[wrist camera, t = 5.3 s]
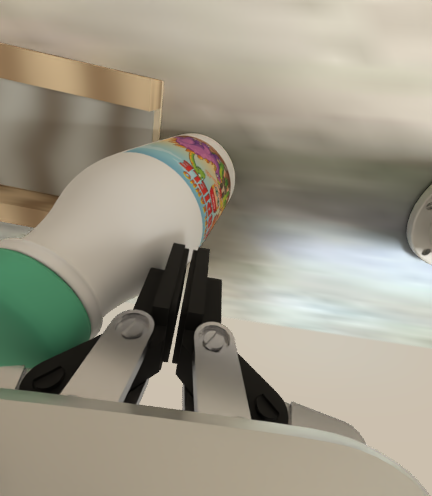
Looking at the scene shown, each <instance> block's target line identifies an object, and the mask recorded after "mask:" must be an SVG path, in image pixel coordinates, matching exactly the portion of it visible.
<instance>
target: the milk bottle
mask: <svg viewBox="0 0 432 496" xmlns="http://www.w3.org/2000/svg"><path fill="white" fill-rule="evenodd" d="M234 186H235V171H234V167H233V164H232V161H231V159H230V157H229V155H228V154H227V152H226V151H225V150H224V148H223V147H222V146H221V145H220V144H219V143H217V142H216V141H215V140H213V139H211V138H210V137H207V136H205V135H201V134H196V133H188V134H182V135H178V136H174V137H170V138H167V139H163V140H159V141H156V142H152V143H149V144H145V145H142V146H139V147H135V148H132V149H129V150H125V151H122V152H119V153H117V154H114V155H111V156H109V157H106V158H104V159H101V160H99V161H98V162H96V163H94V164H92V165H90V166H89V167H87V168H86V169H84V170H83V171H82V172H81V173H79V174H78V175H77V176H76V177H75V178H74V179H73V180H72V181H71V182H70V183H69V184H68V185H67V186H66V188H65V189H64V190H63V192H62V193H61V195H60V196H59V198H58V199H57V201H56V203H55V204H54V206H53V207H52V209H51V210H50V212H49V213H48V214H47V216H46V217H45V218H44V219H43V220H42V221H41V222H40V223H39V224H38V225H37V226H36V227H35V228H34V229H33V230H32V231H31V232H30V233H29V234H27V235H26V236H25V237H23V238H21V239H20V238H7V239H2V240H0V367H3V366H17V365H25V366H26V368H33V367H34V366H36V365H38V364H39V363H41V362H43V361H45V360H47V359H49V358H52V357H54V356H56V355H58V354H60V353H62V352H64V351H67V350H69V349H71V348H73V347H75V346H77V345H79V344H82V343H84V342H86V341H88V340H90V339H92V338H94V337H95V336H96V335H97V334H98V332H99V331H100V328H101V326H102V321H103V317H104V316H105V315H106V314H107V313H108V312H110V311H111V310H113V309H114V308H116V307H117V306H119V305H120V304H122V303H124V302H125V301H127V300H129V299H132V298H134V297H136V296H138V295H139V294H140V292H141V290H142V287H143V285H144V282H145V280H146V277H147V275H148V273H149V270H150V268H157V269H163V270H165V267H166V264H167V261H168V258H169V255H170V252H171V249H172V246H173V243H178V244H183V245H185V248H188V249H189V255H188V261H187V264H188V263H189V262H190V261H191V258H192V253H193V249H194V250H198V247H201V245H202V244H203V242H204V241H205V239H206V237H207V236H208V234H209V233H210V231H211V230H212V228H213V226H214V225H215V223H216V222H217V220H218V218H219V217H220V215H221V214H222V212H223V210H224V209H225V207H226V205H227V204H228V202H229V200H230V198H231V196H232V193H233V191H234Z"/></svg>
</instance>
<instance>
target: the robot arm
mask: <svg viewBox="0 0 432 496" xmlns="http://www.w3.org/2000/svg"><path fill="white" fill-rule="evenodd" d="M407 239H408V244H409V245H410V247H411V249H412V251H413V252H414V253H415V254H416V255H417V256H418V257H419V258H421V259H422V260H423V261H425V262H426V263H428V264H430V265H432V184H431V185H430V186H429V188H428V189H427V190H426V191H425V192H424V193H423V194H422V196H421V197H420V198H419V200H418V201H417V203H416V204H415V206H414V208H413V210H412V212H411V214H410V217H409V220H408V224H407ZM209 253H210V249H205V248H200V247H198V250H194V249H193V253H192V258H191V263H190V268H189V273H188V278H187V283H186V288H185V293H184V299H183V304H182V309H181V314H180V320H179V326H178V331H177V337H176V343H175V349H174V355H173V360H172V363H176V364H177V369H176V375H177V376H178V377H179V379H180V380H181V381H182V383H183V387H182V398H183V399H182V400H183V401H182V402H183V403H182V406H183V408H182V410H176V409H167V408H160V407H153V406H145V405H139V403H140V401H141V399H142V396H143V394H144V391H145V389H146V387H147V384H148V381H149V378H150V377H152V376H153V375H154V374H156V373H158V372H159V370H161V366H162V362H168V358H169V354H170V349H171V344H172V339H173V335H174V330H175V325H176V320H177V315H178V311H179V306H180V301H181V296H182V290H183V284H184V278H185V273H186V267H187V261H188V255H189V249H188V248H185V245H183V244H178V243H173V246H172V249H171V252H170V255H169V258H168V261H167V264H166V267H165V270H163V269H157V268H150V270H149V273H148V275H147V277H146V280H145V282H144V285H143V287H142V290H141V292H140V294H139V297H138V299H137V302H136V304H135V306H134V309H133V310H127V311H124V312H122V313H120V314H118V315H117V316H116V317H115V318H114V319H113V320H112V321H111V323H110V324H109V326H108V327H107V328H106V330H105V331H104V333H103V334H101V335H99V336H97V337H95V338H92V339H90V340H88V341H86V342H84V343H82V344H79V345H77V346H75V347H73V348H71V349H69V350H67V351H64V352H62V353H60V354H58V355H56V356H54V357H52V358H49V359H47V360H45V361H43V362H41V363H39V364H38V365H36V366H34V367H33V368H26V366H25V365H17V366H3V367H0V496H430V495H429V493H428V492H427V491H426V489H425V488H424V487H423V486H422V485H421V484H420V482H419V481H418V480H417V479H416V478H415V477H414V476H413V475H412V474H411V473H410V472H408V471H407V470H406V469H405V468H403V467H402V466H401V465H400V464H398V463H397V462H395V461H394V460H392V459H391V458H389V457H387V456H386V455H384V454H382V453H381V452H379V451H377V450H376V449H374V448H372V447H370V446H368V445H366V443H365V441H364V439H363V438H362V436H361V435H360V433H359V432H358V431H357V430H356V429H355V428H354V427H353V426H351V425H349V424H348V423H346V422H344V421H341V420H339V419H336V418H333V417H330V416H328V415H326V414H323V413H320V412H318V411H315V410H313V409H310V408H307V407H305V406H302V405H300V404H297V403H295V402H291V404H289V403H286V402H284V401H283V400H282V398H281V397H280V396H279V394H278V393H277V392H276V391H275V390H274V389H273V388H272V387H271V386H270V385H269V384H268V383H267V382H266V381H265V380H264V379H263V378H262V377H261V376H260V375H259V374H258V373H257V372H256V371H255V370H254V369H253V368H252V367H251V366H250V365H249V364H248V363H247V362H246V361H245V360H244V359H243V358H242V357H241V356H240V355H239V354H238V353H237V349H236V345H235V340H234V337H233V334H232V332H231V331H230V330H229V329H228V328H227V327H226V326H224V325H223V324H221V297H222V280H221V279H215V278H209V277H207V275H208V264H209Z"/></svg>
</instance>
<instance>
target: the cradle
mask: <svg viewBox="0 0 432 496" xmlns="http://www.w3.org/2000/svg"><path fill="white" fill-rule="evenodd" d="M163 88H164V81H162V80H157V79H153V78H149V77H144V76H140V75H136V74H132V73H127V72H123V71H119V70H115V69H110V68H106V67H102V66H97V65H93V64H89V63H85V62H80V61H76V60H72V59H68V58H63V57H59V56H55V55H50V54H46V53H42V52H38V51H33V50H29V49H25V48H21V47H16V46H12V45H8V44H3V43H0V221H1V222H7V223H12V224H17V225H23V226H28V227H33V228H35V227H36V226H37V225H38V224H39V223H40V222H41V221H42V220H43V219H44V218H45V217H46V216H47V214H48V213H49V212H50V210H51V209H52V207H53V206H54V204H55V203H56V201H57V199H58V198H59V196H60V195H61V193H62V192H63V190H64V189H65V188H66V186H67V185H68V184H69V183H70V182H71V181H72V180H73V179H74V178H75V177H76V176H77V175H78V174H79V173H81V172H82V171H83V170H84V169H86V168H87V167H89V166H90V165H92V164H94V163H96V162H98V161H99V160H101V159H104V158H106V157H109V156H111V155H114V154H117V153H119V152H122V151H125V150H129V149H132V148H135V147H139V146H142V145H145V144H149V143H152V142H156V141H159V140H160V129H161V115H162V102H163Z"/></svg>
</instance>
